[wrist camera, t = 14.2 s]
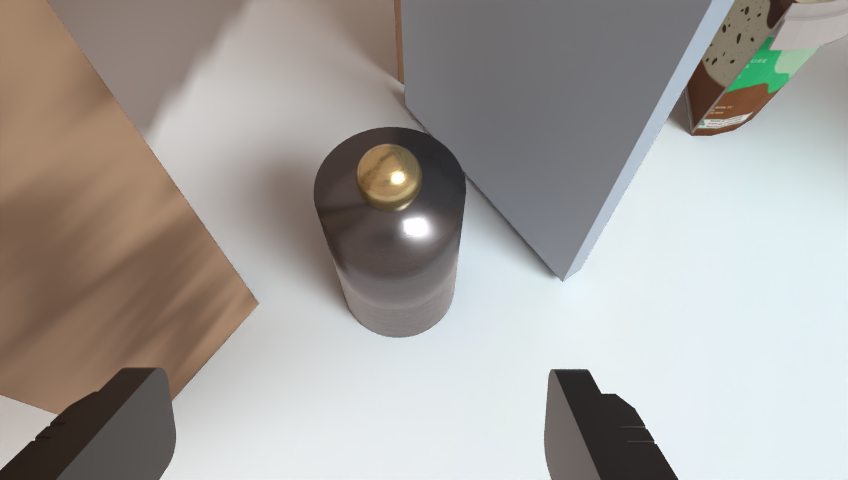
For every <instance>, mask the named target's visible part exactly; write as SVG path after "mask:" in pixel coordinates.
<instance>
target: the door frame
mask: <svg viewBox="0 0 848 480" xmlns="http://www.w3.org/2000/svg"><path fill="white" fill-rule="evenodd" d="M394 5H395V22H396V40H397V58H398V76H399V82H401V83H403V84H404V67H403V45H402V22H401V0H394ZM258 304H259V303H258V302H257V300H256V299H255V297H254V296H253V295H252V293H251V292H250V290H249V289H248V287H247V286H246V285H245V283H244V282H243V280H242V279H241V277H240V276H239V275H238V273H237V272H236V270H235V269H234V267H233V266H232V265H231V263H230V262H229V260H228V259H227V257H226V256H225V255H224V253H223V252H222V250H221V249H220V247H219V246H218V245H217V243H216V242H215V240H214V239H213V237H212V236H211V235H210V233H209V232H208V230H207V229H206V227H205V226H204V225H203V223H202V222H201V220H200V219H199V217H198V216H197V215H196V213H195V212H194V210H193V209H192V207H191V206H190V205H189V203H188V202H187V200H186V199H185V197H184V196H183V195H182V193H181V192H180V190H179V189H178V187H177V186H176V185H175V183H174V182H173V180H172V179H171V177H170V176H169V175H168V173H167V172H166V170H165V169H164V167H163V166H162V165H161V163H160V162H159V160H158V159H157V157H156V156H155V155H154V153H153V152H152V150H151V149H150V147H149V146H148V145H147V143H146V142H145V140H144V139H143V137H142V136H141V135H140V133H139V132H138V130H137V129H136V127H135V126H134V125H133V123H132V122H131V120H130V119H129V118H128V116H127V115H126V113H125V112H124V110H123V109H122V107H121V106H120V105H119V103H118V102H117V100H116V99H115V98H114V96H113V95H112V93H111V92H110V90H109V89H108V87H107V86H106V85H105V83H104V82H103V80H102V79H101V78H100V76H99V75H98V73H97V72H96V70H95V69H94V68H93V66H92V65H91V63H90V62H89V60H88V59H87V57H86V56H85V55H84V53H83V52H82V50H81V49H80V47H79V46H78V45H77V43H76V42H75V40H74V39H73V38H72V36H71V35H70V33H69V32H68V31H67V29H66V27H65V26H64V25H63V23H62V22H61V20H60V19H59V18H58V16H57V15H56V13H55V12H54V11H53V9H52V7H51V6H50V5H49V3H48V2H47V1H46V0H0V395H3V396H6V397H9V398H11V399H14V400H17V401H20V402H23V403H26V404H29V405H32V406H35V407H38V408H41V409H43V410H46V411H49V412H52V413H55V414H58V415H59V414H61V413H62V412H63V411H64V410H65V409H66V408H67V407H68V406H69V405H71V404H73V403H75V402H76V401H78V400H80V399H82V398H83V397H85V396H87V395H89V394H90V393H92V392H94V391H99V390H100V389H101V388H102V387H103V386H104V385H105V384H106V383H107V382H108V381H109V380H110V379H111V378H112V377H113V376H114V375H115V374H116V373H117V372H118V371H119V370H121V369H122V368H125V367H160V368H163V369H164V370H165V371H166V373H167V376H168V382H169V389H170V396H171V401H172V400H173V399H174V398H175V397H176V396H177V395H178V394H179V392H180V391H181V390H182V389H183V388H184V387H185V386H186V385H187V383H188V382H189V381H190V380H191V379H192V378H193V377H194V376H195V374H196V373H197V372H198V371H199V370H200V369H201V368H202V367H203V366H204V364H205V363H206V362H207V361H208V360H209V359H210V358H211V357H212V355H213V354H214V353H215V352H216V351H217V350H218V349H219V348H220V346H221V345H222V344H223V343H224V342H225V341H226V340H227V339H228V338H229V336H230V335H231V334H232V333H233V332H234V331H235V330H236V329H237V327H238V326H239V325H240V324H241V323H242V322H243V321H244V320H245V318H246V317H247V316H248V315H249V314H250V313H251V312H252V311H253V310H254V308H255V307H256V306H257V305H258Z"/></svg>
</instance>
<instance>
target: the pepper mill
mask: <svg viewBox="0 0 848 480" xmlns="http://www.w3.org/2000/svg"><path fill="white" fill-rule="evenodd" d="M465 195H466V183H465V177H464V173H463V171H462V168H461V166H460V164H459V162H458V160H457V159H456V157H455V156H454V154H453V153H452V152H451V151H450V150H449V149H448V148H447V147H446V146H445V145H444V144H442V143H441V142H440V141H438V140H437V139H435V138H433V137H431V136H429V135H427V134H425V133H422V132H419V131H417V130H412V129H408V128H400V127H384V128H376V129H371V130H368V131H364V132H361V133H359V134H356V135H354V136H352V137H350V138H348V139H347V140H345V141H343V142H342V143H341V144H339V145H338V146H337V147H336V148H335V149H334V150H332V151H331V152H330V154H329V155H328V156H327V157H326V158H325V160H324V162H323V163H322V165H321V166H320V169H319V171H318V173H317V176H316V180H315V185H314V201H315V206H316V209H317V212H318V216H319V219H320V222H321V225H322V228H323V231H324V234H325V237H326V240H327V243H328V246H329V249H330V252H331V255H332V259H333V262H334V265H335V268H336V271H337V274H338V277H339V280H340V283H341V286H342V289H343V292H344V295H345V298H346V301H347V304H348V307H349V309H350V311H351V313H352V314H353V315H354V317H355V318H356V319H357V320H358V321H359V322H360V323H361V324H362V325H363V326H364V327H366V328H367V329H369V330H371V331H372V332H375V333H377V334H380V335H383V336H387V337H400V338H401V337H409V336H414V335H417V334H420V333H422V332H424V331H426V330H428V329H430V328H431V327H433V326H434V325H435V324H437V323H438V322H439V321H440V320H441V319H442V317H443V316H444V315H445V314H446V312H447V310H448V309H449V307H450V304H451V302H452V299H453V295H454V288H455V279H456V271H457V262H458V254H459V246H460V237H461V229H462V221H463V212H464V204H465Z"/></svg>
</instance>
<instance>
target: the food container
mask: <svg viewBox="0 0 848 480" xmlns="http://www.w3.org/2000/svg"><path fill="white" fill-rule="evenodd" d="M846 35H848V0H735V1H734V3H733V4H732V6H731V8H730V10H729V11H728V13H727V15H726V17H725V18H724V20H723V22H722V24H721V25H720V27H719V29H718V31H717V32H716V34H715V36H714V38H713V39H712V41H711V43H710V45H709V46H708V48H707V50H706V51H705V53H704V55H703V57H702V58H701V60H700V62H699V64H698V65H697V67H696V69H695V71H694V72H693V74H692V76H691V78H690V79H689V81H688V83H687V85H686V86H685V88H684V94H685V100H686V106H687V112H688V118H689V124H690V130H691V136H712V135H716V134H720V133H724V132H728V131H733V130H735V129H737V128H738V127H740V126H742V125H743V124H745V123H746V122H748V121H750V120H751V119H752V118H753V117H754V116H755V115H756V114H757V113H758V112H759V111H760V110H761V109H762V108H763V107H764V106H765V105H766V104H767V103H768V101H769V100H770V99H771V98H772V97H773V96H774V95H775V94H776V93H777V92H778V91H779V90H780V89H781V88H782V87H783V86H784V85H785V84H786V82H787V81H788V80H789V79H790V78H791V77H792V76H793V75H794V74H795V73H796V72H797V71H798V70H799V69H800V68H801V67H802V66H803V65H804V63H805V62H806V61H807V60H808V59H809V58H810V57H811V56H812V55H813V54H814V53H815V52H816V51H817V50H818V49H819V48H820V47H821V46H822V45H824V44H828V43H831V42H833V41H835V40H838V39H840V38H842V37H845V36H846Z"/></svg>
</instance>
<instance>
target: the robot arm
mask: <svg viewBox="0 0 848 480" xmlns="http://www.w3.org/2000/svg"><path fill="white" fill-rule="evenodd" d="M175 443H176V429H175V423H174V416H173V409H172V402H171V396H170V389H169V382H168V376H167V373H166V371H165V370H164V369H163V368H160V367H125V368H122V369H121V370H119V371H118V372H117V373H116V374H115V375H114V376H113V377H112V378H111V379H110V380H109V381H108V382H107V383H106V384H105V385H104V386H103V387H102V388H101V389H100V390H99V391H94V392H92V393H90V394H89V395H87V396H85V397H83V398H82V399H80V400H78V401H76V402H75V403H73V404H71V405H69V406H68V407H67V408H66V409H65V410H64V411H63V412H62V413H61V414H59V415H58V416H57V417H56V418H55V419H54V420H53V421H52V422H51V423H50V426H47V427H46V428H45V429H44V430H43V431H41V432H40V433H39V434H38V435H37V436H36V437H35V441H31V442H30V443H29V444H28V445H27V446H26V447H25V448H24V449H22V450H21V451H20V452H19V453H18V454H17V455H16V456H15V457H14V458H13V459H12V460H11V461H10V462H9V463H8V464H7V465H6V466H4V467H3V468H2V469H1V470H0V480H159V479H160V477H161V476H162V474H163V473H164V471H165V470H166V468H167V467H168V465H169V463H170V461H171V459H172V456H173V453H174V449H175ZM544 446H545V456H546V462H547V466H548V470H549V473H550V476H551V480H678V478H677V477H676V475H675V473H674V472H673V470H672V468H671V467H670V465H669V464H668V462H667V460H666V459H665V457H664V455H663V454H662V452H661V451H660V449H659V447H658V446H657V444H655V443H654V439H653V438H652V436H651V434H650V433H649V431H648V429H646V428H645V425H644V423H643V421H642V420H641V418H640V416H639V415H638V413H637V412H636V410H635V408H633V407H632V406H631V405H629V404H628V403H627V402H625V401H624V400H623V399H621V398H620V397H619V396H618V395H616V394H601V392H600V390H599V388H598V387H597V385H596V383H595V381H594V379H593V377H592V375H591V374H590V372H589V371H588V370H587V369H552V370H551V371H550V373H549V379H548V391H547V404H546V418H545V431H544Z"/></svg>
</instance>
